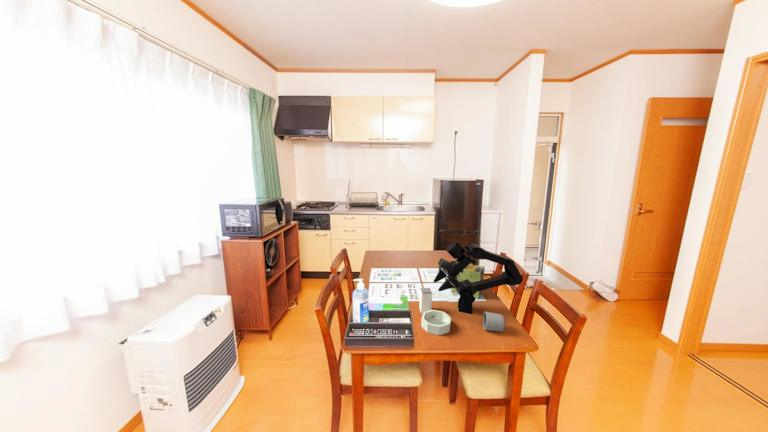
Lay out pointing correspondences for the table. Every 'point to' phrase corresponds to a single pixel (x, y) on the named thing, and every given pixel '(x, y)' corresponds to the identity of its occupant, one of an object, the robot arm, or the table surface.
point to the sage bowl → (436, 322)
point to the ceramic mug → (493, 322)
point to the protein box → (471, 276)
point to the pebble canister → (425, 300)
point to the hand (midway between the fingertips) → (436, 286)
